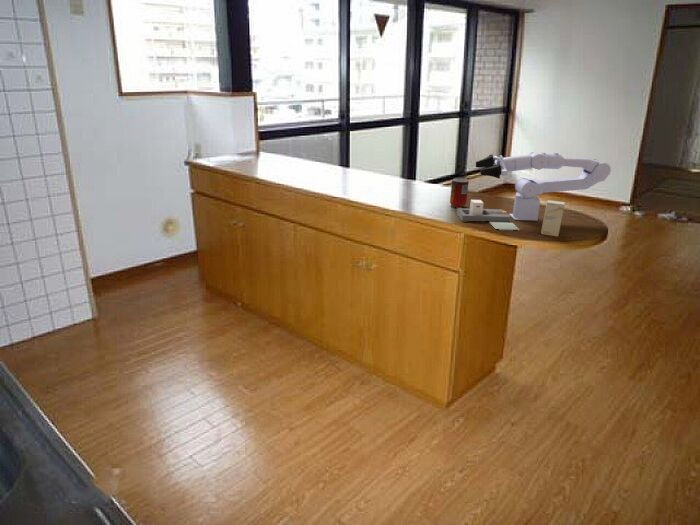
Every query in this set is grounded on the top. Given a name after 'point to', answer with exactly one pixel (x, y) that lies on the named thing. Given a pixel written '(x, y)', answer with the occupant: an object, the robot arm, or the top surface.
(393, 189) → the top surface
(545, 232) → the skincare box
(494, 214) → the grey tray
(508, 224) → the mat
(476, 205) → the charger
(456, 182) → the soda can
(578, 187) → the robot arm
